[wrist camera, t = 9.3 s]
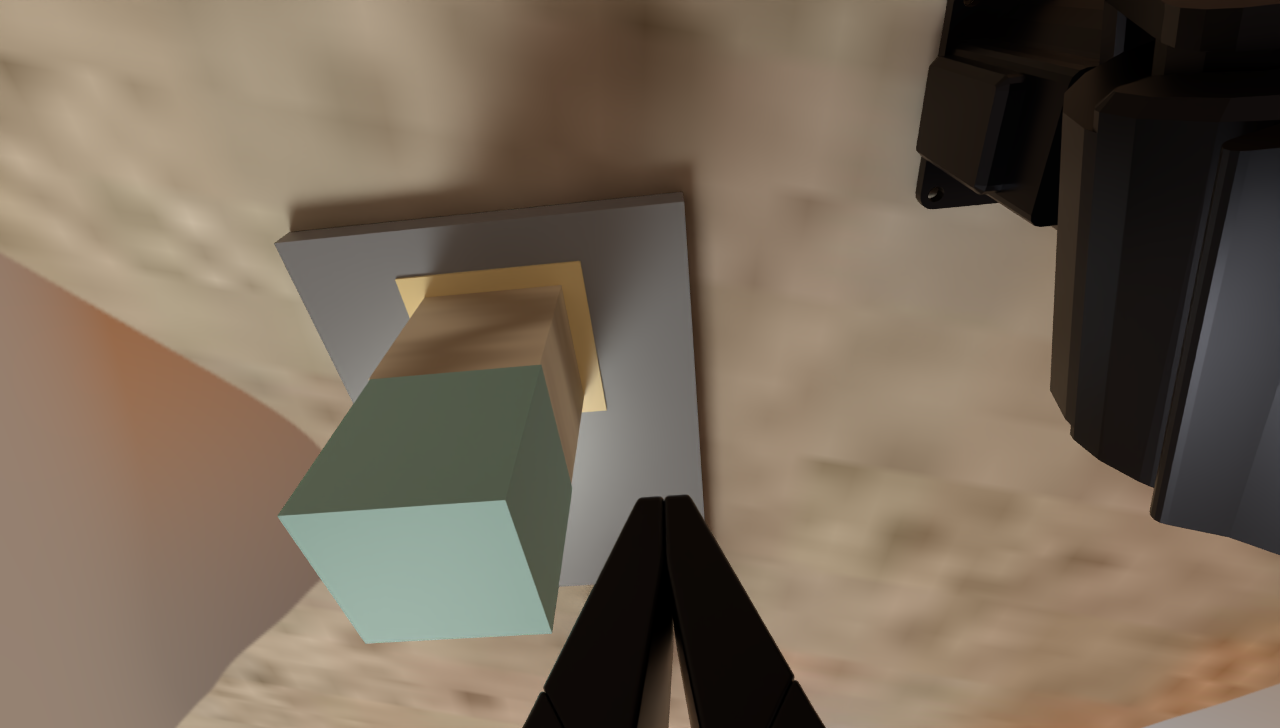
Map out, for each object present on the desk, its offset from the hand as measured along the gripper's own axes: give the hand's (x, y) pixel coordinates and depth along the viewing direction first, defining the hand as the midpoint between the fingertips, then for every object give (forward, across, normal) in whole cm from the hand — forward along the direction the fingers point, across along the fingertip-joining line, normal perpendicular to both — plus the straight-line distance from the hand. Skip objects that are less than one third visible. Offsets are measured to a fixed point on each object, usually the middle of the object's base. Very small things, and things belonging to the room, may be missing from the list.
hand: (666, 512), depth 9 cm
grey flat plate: (+13, +6, +9) cm, 17 cm away
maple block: (+12, +6, +4) cm, 14 cm away
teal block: (+7, +6, +4) cm, 10 cm away
